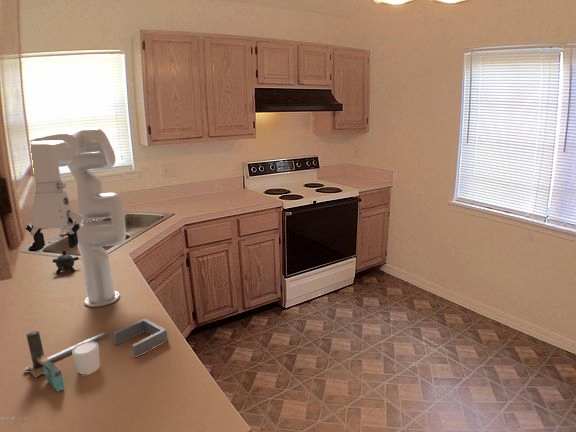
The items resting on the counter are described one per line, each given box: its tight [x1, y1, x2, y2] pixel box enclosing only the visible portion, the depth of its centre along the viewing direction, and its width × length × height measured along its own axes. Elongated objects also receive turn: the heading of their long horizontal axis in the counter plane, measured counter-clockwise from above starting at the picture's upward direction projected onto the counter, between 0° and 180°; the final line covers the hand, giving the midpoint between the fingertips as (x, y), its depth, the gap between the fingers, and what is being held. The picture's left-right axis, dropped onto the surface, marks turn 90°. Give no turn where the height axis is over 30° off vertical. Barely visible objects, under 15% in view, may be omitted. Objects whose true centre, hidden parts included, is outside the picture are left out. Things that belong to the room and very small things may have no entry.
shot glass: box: [71, 341, 101, 375], centre depth 113 cm, size 7×7×7 cm
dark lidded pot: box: [52, 249, 79, 275], centre depth 185 cm, size 11×11×12 cm
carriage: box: [26, 330, 65, 392], centre depth 108 cm, size 16×4×12 cm, turn 51°
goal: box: [112, 318, 169, 358], centre depth 126 cm, size 12×11×4 cm
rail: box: [23, 331, 109, 372], centre depth 122 cm, size 1×24×1 cm, turn 141°
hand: (57, 246), depth 114 cm, fingers open, 9 cm apart
